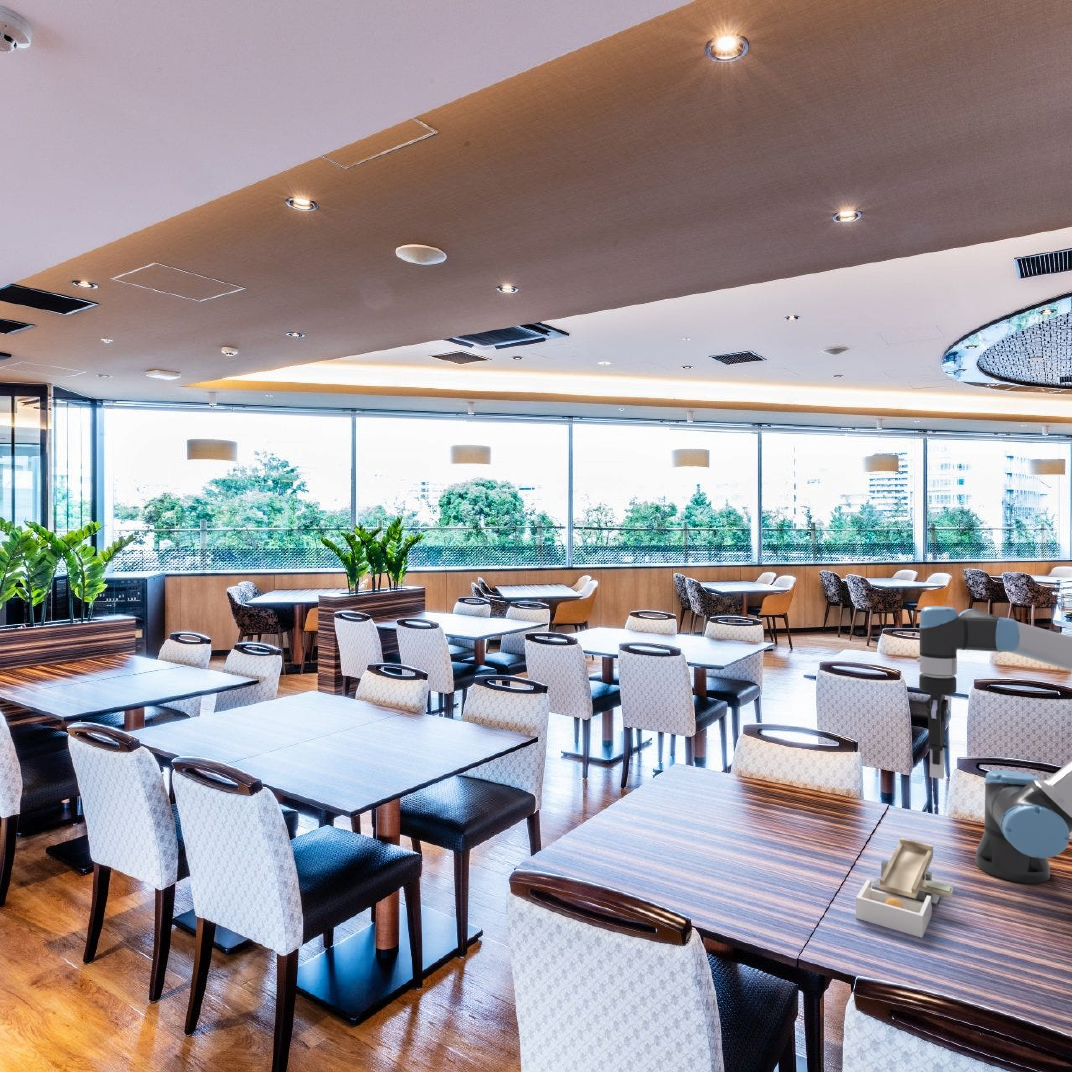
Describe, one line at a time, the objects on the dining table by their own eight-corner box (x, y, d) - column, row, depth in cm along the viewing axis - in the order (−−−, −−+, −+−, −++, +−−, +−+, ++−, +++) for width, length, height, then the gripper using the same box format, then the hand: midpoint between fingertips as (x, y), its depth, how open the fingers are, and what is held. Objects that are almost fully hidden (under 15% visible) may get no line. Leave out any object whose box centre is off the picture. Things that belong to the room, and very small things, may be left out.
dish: (931, 915, 161) (932, 894, 161) (922, 937, 153) (922, 916, 153) (868, 897, 169) (868, 877, 169) (855, 918, 160) (856, 897, 160)
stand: (940, 897, 169) (940, 871, 169) (936, 906, 165) (936, 879, 165) (877, 880, 177) (877, 855, 177) (872, 888, 173) (872, 863, 172)
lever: (962, 863, 175) (962, 851, 175) (947, 907, 158) (947, 894, 158) (899, 848, 183) (899, 837, 182) (879, 888, 166) (879, 876, 165)
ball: (905, 906, 161) (903, 897, 160) (902, 922, 159) (900, 912, 157) (887, 901, 163) (885, 892, 162) (884, 916, 161) (882, 907, 160)
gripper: (923, 667, 182) (923, 766, 183) (914, 677, 172) (914, 782, 172) (959, 671, 178) (958, 772, 179) (952, 681, 167) (951, 788, 168)
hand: (936, 776), depth 175 cm, fingers closed
